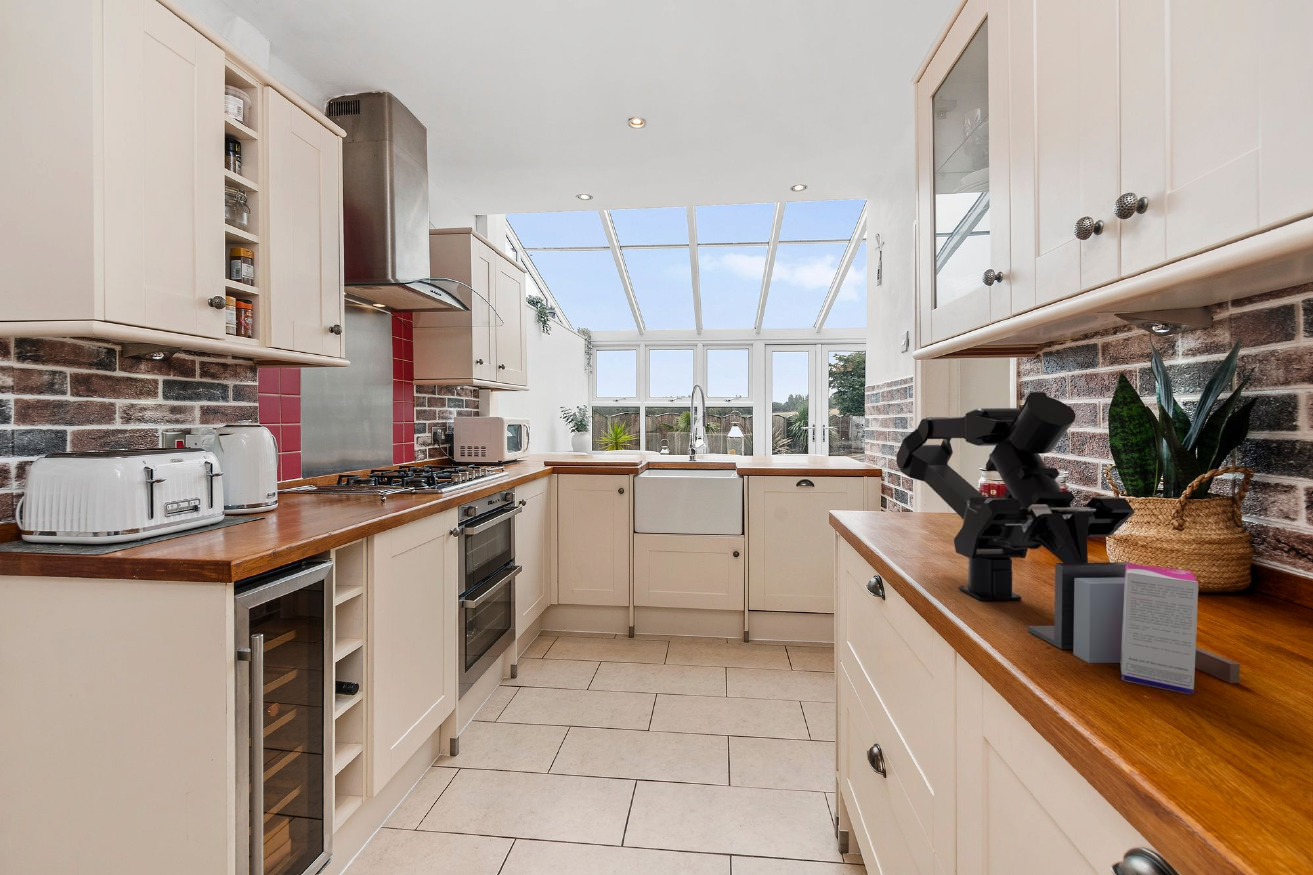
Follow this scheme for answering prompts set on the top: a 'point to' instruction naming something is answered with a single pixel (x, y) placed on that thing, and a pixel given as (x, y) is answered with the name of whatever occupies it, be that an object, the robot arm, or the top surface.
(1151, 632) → the supplement box
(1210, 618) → the top surface
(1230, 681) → the rail
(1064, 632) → the bookend
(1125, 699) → the top surface
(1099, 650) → the book
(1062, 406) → the robot arm
